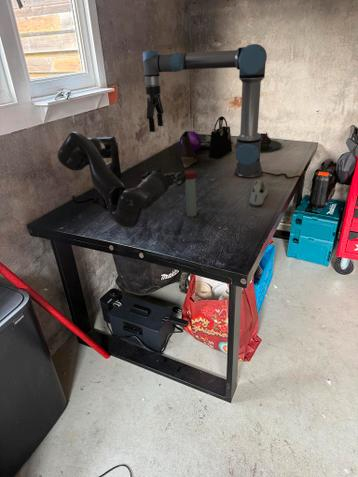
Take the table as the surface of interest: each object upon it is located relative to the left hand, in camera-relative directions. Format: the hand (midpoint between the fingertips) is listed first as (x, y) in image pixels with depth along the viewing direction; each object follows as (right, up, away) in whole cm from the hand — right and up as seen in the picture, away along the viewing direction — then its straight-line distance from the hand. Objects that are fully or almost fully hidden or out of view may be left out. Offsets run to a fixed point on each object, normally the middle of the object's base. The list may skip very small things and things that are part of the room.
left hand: (171, 171), depth 117 cm
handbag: (+31, +34, +110) cm, 119 cm away
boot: (+10, +25, +97) cm, 101 cm away
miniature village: (+59, +43, +123) cm, 143 cm away
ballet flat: (+42, -4, +44) cm, 60 cm away
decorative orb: (+11, +37, +117) cm, 123 cm away
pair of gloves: (+26, +48, +134) cm, 145 cm away
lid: (+7, +4, +21) cm, 23 cm away
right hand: (-9, +35, +61) cm, 71 cm away
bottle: (+8, -13, +31) cm, 35 cm away
